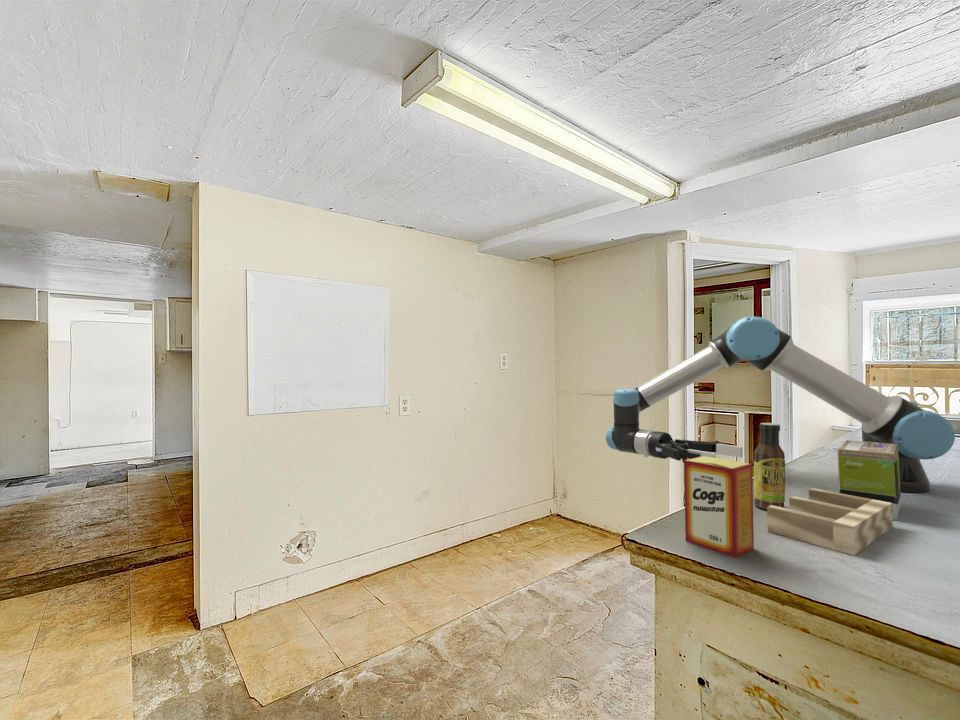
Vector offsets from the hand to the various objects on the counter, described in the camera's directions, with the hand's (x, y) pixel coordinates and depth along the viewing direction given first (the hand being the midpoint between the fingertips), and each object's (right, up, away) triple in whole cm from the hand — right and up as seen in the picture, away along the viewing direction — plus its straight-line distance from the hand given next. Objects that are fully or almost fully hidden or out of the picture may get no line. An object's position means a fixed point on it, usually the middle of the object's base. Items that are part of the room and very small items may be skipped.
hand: (728, 455), depth 113 cm
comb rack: (+9, -11, -22) cm, 26 cm away
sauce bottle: (+5, -11, -8) cm, 14 cm away
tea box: (+28, -11, -9) cm, 31 cm away
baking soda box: (-18, -11, -29) cm, 35 cm away
